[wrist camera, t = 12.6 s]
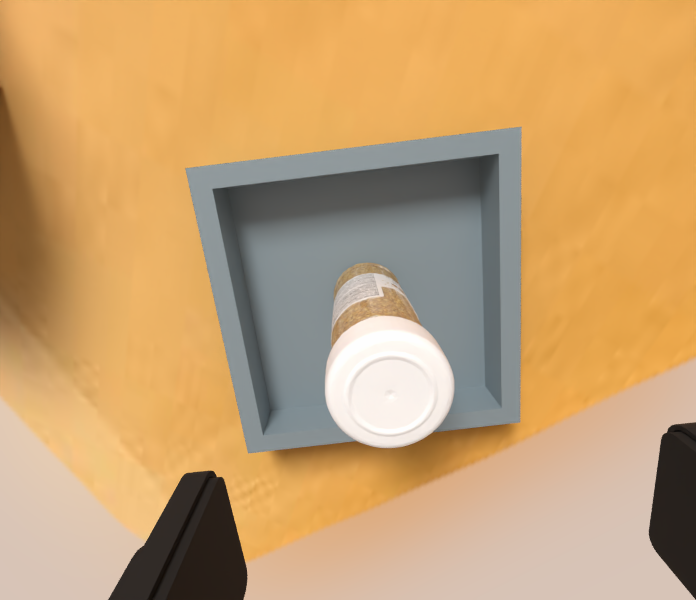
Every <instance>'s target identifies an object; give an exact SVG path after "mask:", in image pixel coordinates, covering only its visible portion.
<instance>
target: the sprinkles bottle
mask: <svg viewBox="0 0 696 600" xmlns="http://www.w3.org/2000/svg"><path fill="white" fill-rule="evenodd" d="M331 347H332V349H331V351H330V354H329V357H328V360H327V364H326V374H325V398H326V403H327V407H328V410H329V412H330V414H331V416H332V418H333V419H334V421H335V422H336V424H337V425H338V426H339V428H340V429H341V430H342V431H343V432H345V433H346V434H347V435H348V436H350V437H351V438H353V439H354V440H356V441H358V442H360V443H363V444H366V445H369V446H372V447H378V448H397V447H403V446H407V445H410V444H413V443H416V442H418V441H420V440H422V439H424V438H425V437H427V436H428V435H430V434H431V433H432V432H433V431H434V430H436V429H437V428H438V427H439V426H440V424H441V423H442V422H443V421H444V419H445V417H446V416H447V414H448V412H449V410H450V408H451V405H452V402H453V397H454V376H453V372H452V369H451V366H450V364H449V362H448V360H447V358H446V356H445V354H444V352H443V351H442V349H441V348H440V346H439V344H438V343H437V341H436V340H435V339H434V337H433V336H432V335H431V334H430V333H429V332H428V331H427V330H426V329H425V328H423V327H422V325H421V323H420V321H419V319H418V316H417V314H416V312H415V310H414V308H413V307H412V305H411V303H410V302H409V300H408V298H407V297H406V295H405V293H404V291H403V290H402V288H401V287H400V284H399V282H398V280H397V278H396V277H395V275H394V274H393V273H392V272H391V271H390V270H389V269H387V268H386V267H384V266H382V265H379V264H375V263H360V264H356V265H354V266H352V267H350V268H348V269H347V270H346V271H345V272H343V273H342V275H341V276H340V277H339V278H338V280H337V282H336V285H335V288H334V307H333V317H332V330H331Z"/></svg>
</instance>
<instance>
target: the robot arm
mask: <svg viewBox="0 0 696 600" xmlns="http://www.w3.org/2000/svg"><path fill="white" fill-rule="evenodd" d="M649 537H650V541H651V543H652V545H653V547H654V549H655V550H656V552H657V553H658V555H659V556H660V557H661V558H662V559H663V561H664V562H665V563H666V564H667V565H668V567H669V568H670V569H671V570H672V571H673V573H674V574H675V575H676V576H677V577H678V579H679V580H680V581H681V582H682V584H683V585H684V586H685V587H686V588H687V590H688V591H689V592H690V593H691V594H692V596H693V597H694V598H695V599H696V423H685V424H676V425H672V426H671V427H669V428H668V431H667V433H665V434H664V435H663V436H662V439H661V445H660V453H659V461H658V467H657V475H656V482H655V490H654V497H653V504H652V512H651V519H650V527H649ZM246 586H247V568H246V564H245V560H244V556H243V552H242V548H241V544H240V540H239V536H238V532H237V528H236V524H235V521H234V517H233V513H232V509H231V505H230V501H229V497H228V493H227V489H226V485H225V482H224V479H223V478H222V477H216V474H215V473H214V471H203V472H193V473H186V474H185V475H184V476H183V477H182V478H181V480H180V482H179V484H178V486H177V487H176V489H175V491H174V493H173V495H172V496H171V498H170V500H169V502H168V504H167V505H166V507H165V509H164V511H163V512H162V514H161V516H160V518H159V520H158V521H157V523H156V525H155V527H154V529H153V530H152V532H151V534H150V536H149V538H148V539H147V541H146V543H145V545H144V546H143V547H141V548H140V549H139V550H138V551H137V552H136V553H135V555H134V556H133V558H132V559H131V561H130V563H129V564H128V566H127V568H126V570H125V571H124V573H123V575H122V577H121V579H120V580H119V582H118V584H117V585H116V587H115V589H114V591H113V592H112V594H111V596H110V598H109V599H108V600H243V599H244V595H245V591H246Z"/></svg>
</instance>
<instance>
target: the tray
mask: <svg viewBox="0 0 696 600" xmlns="http://www.w3.org/2000/svg"><path fill="white" fill-rule="evenodd" d="M185 169H186V174H187V178H188V183H189V187H190V192H191V196H192V201H193V205H194V210H195V214H196V219H197V223H198V228H199V233H200V237H201V242H202V246H203V251H204V255H205V260H206V264H207V269H208V273H209V278H210V282H211V287H212V292H213V296H214V301H215V305H216V310H217V314H218V319H219V323H220V328H221V332H222V337H223V341H224V346H225V350H226V355H227V360H228V364H229V369H230V373H231V378H232V382H233V387H234V391H235V396H236V400H237V405H238V409H239V414H240V418H241V423H242V428H243V432H244V437H245V441H246V446H247V450H248V453H256V452H265V451H274V450H282V449H291V448H300V447H309V446H317V445H326V444H335V443H344V442H352V441H356V440H354V439H353V438H351V437H350V436H348V435H347V434H346V433H345V432H343V431H342V430H341V429H340V428H339V426H338V425H337V424H336V422H335V421H334V419H333V418H332V416H331V414H330V412H329V410H328V407H327V403H326V398H325V374H326V364H327V360H328V357H329V354H330V351H331V349H332V347H331V330H332V317H333V307H334V288H335V285H336V282H337V280H338V278H339V277H340V276H341V275H342V273H343V272H345V271H346V270H347V269H348V268H350V267H352V266H354V265H356V264H360V263H375V264H379V265H382V266H384V267H386V268H387V269H389V270H390V271H391V272H392V273H393V274H394V275H395V277H396V278H397V280H398V282H399V284H400V287H401V288H402V290H403V291H404V293H405V295H406V297H407V298H408V300H409V302H410V303H411V305H412V307H413V308H414V310H415V312H416V314H417V316H418V319H419V321H420V323H421V325H422V327H423V328H425V329H426V330H427V331H428V332H429V333H430V334H431V335H432V336H433V337H434V339H435V340H436V341H437V343H438V344H439V346H440V348H441V349H442V351H443V352H444V354H445V356H446V358H447V360H448V362H449V364H450V366H451V369H452V372H453V376H454V397H453V402H452V405H451V408H450V410H449V412H448V414H447V416H446V417H445V419H444V421H443V422H442V423H441V424H440V426H439V427H438V428H437V429H436V430H434V431H433V432H440V431H449V430H458V429H466V428H475V427H484V426H493V425H501V424H510V423H519V422H520V339H521V127H516V128H508V129H500V130H492V131H484V132H476V133H467V134H459V135H451V136H443V137H435V138H427V139H419V140H411V141H403V142H395V143H387V144H379V145H371V146H362V147H354V148H346V149H338V150H330V151H322V152H314V153H306V154H298V155H290V156H282V157H274V158H266V159H257V160H249V161H241V162H233V163H225V164H217V165H209V166H201V167H193V168H185Z"/></svg>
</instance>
